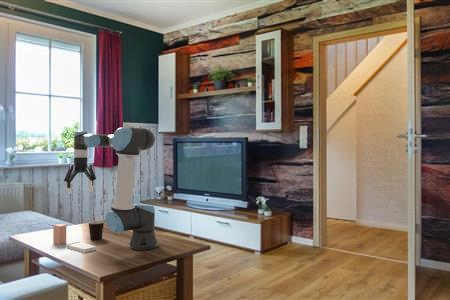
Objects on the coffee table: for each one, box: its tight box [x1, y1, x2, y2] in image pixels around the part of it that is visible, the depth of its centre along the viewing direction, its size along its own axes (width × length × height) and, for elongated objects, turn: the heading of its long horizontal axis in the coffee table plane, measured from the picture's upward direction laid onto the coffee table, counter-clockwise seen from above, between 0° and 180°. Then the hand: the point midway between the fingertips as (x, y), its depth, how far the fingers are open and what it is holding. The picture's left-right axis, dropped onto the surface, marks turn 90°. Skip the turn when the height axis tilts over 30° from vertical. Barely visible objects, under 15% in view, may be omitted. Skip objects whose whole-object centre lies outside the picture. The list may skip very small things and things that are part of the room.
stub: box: [52, 223, 67, 246], centre depth 206 cm, size 6×4×10 cm, turn 56°
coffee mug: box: [88, 220, 105, 241], centre depth 217 cm, size 12×9×10 cm
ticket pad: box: [67, 241, 97, 254], centre depth 195 cm, size 14×7×2 cm, turn 56°
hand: (80, 192), depth 220 cm, fingers open, 13 cm apart
